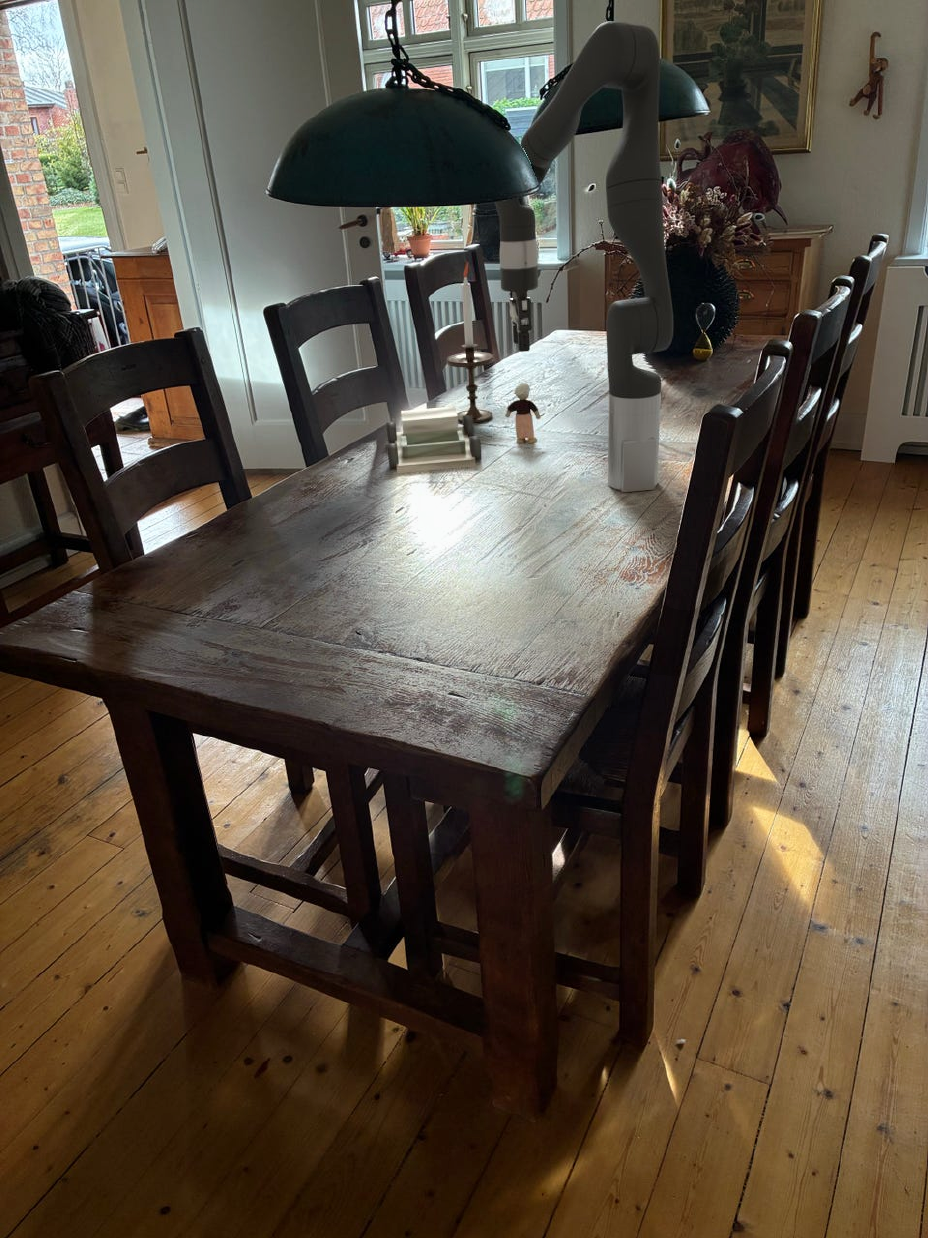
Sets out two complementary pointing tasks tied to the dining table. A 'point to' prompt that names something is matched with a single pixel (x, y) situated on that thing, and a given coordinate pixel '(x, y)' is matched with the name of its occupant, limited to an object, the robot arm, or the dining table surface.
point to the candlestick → (470, 359)
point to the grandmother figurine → (523, 414)
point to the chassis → (432, 441)
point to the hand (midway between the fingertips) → (521, 346)
